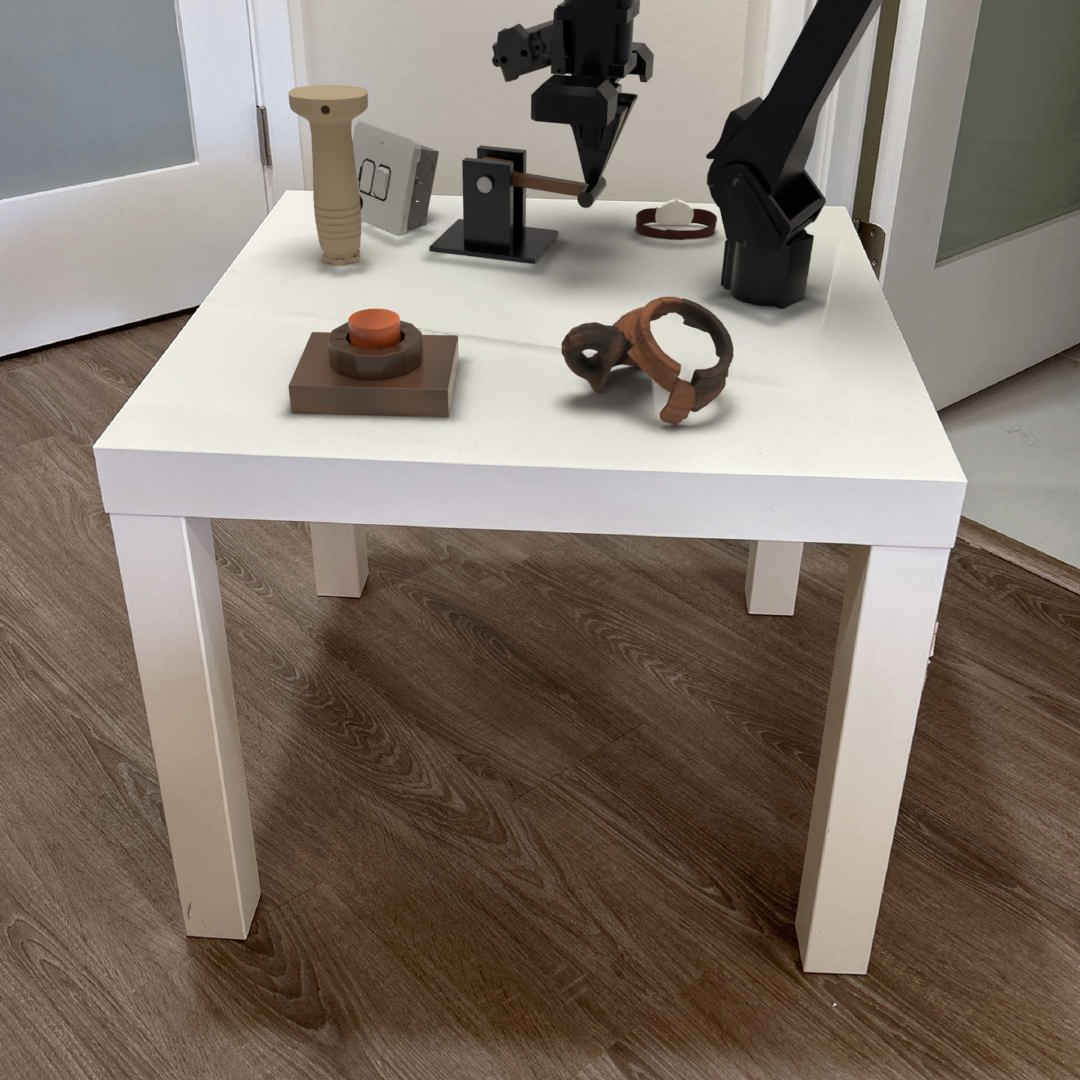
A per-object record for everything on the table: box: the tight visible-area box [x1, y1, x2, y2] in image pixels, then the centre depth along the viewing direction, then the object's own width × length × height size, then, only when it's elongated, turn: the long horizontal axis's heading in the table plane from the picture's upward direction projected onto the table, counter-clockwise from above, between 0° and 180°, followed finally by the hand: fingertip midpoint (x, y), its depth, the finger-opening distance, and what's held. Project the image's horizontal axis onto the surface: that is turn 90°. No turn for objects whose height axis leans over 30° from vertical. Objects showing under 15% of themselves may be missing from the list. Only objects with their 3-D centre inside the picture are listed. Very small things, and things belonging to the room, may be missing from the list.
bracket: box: [428, 144, 560, 265], centre depth 107 cm, size 10×8×9 cm
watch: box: [635, 197, 718, 240], centre depth 112 cm, size 8×5×4 cm, turn 91°
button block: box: [288, 319, 460, 418], centre depth 85 cm, size 11×9×4 cm
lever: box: [482, 157, 607, 209], centre depth 105 cm, size 11×5×2 cm, turn 74°
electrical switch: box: [352, 120, 440, 237], centre depth 112 cm, size 9×5×9 cm, turn 43°
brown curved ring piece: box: [561, 296, 735, 426], centre depth 84 cm, size 12×10×8 cm
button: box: [347, 308, 401, 349], centre depth 84 cm, size 4×4×2 cm
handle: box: [287, 84, 369, 267], centre depth 101 cm, size 5×6×15 cm
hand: (592, 183), depth 103 cm, fingers closed, pressing on lever
